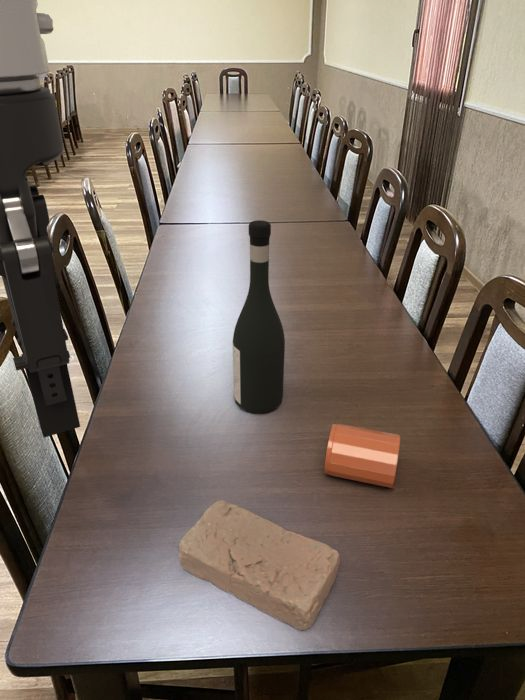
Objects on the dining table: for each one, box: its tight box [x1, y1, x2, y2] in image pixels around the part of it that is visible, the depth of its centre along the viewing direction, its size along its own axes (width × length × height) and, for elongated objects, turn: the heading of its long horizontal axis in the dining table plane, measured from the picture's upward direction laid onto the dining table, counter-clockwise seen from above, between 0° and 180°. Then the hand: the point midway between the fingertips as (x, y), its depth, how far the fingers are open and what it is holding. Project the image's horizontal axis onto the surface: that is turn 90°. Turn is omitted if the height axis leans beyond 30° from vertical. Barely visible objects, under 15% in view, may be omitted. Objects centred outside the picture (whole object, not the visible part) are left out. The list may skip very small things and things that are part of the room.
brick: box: [178, 499, 341, 631], centre depth 59 cm, size 17×8×5 cm, turn 60°
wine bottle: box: [232, 219, 286, 414], centre depth 81 cm, size 8×8×30 cm
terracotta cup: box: [323, 422, 401, 489], centre depth 72 cm, size 7×7×9 cm
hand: (60, 426), depth 41 cm, fingers closed
